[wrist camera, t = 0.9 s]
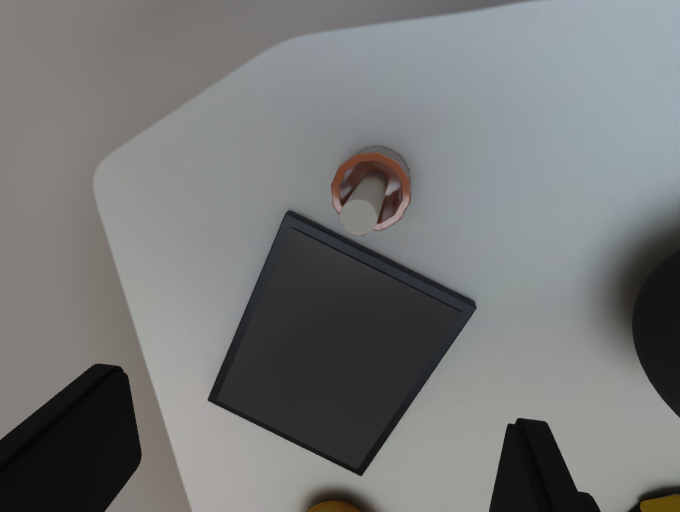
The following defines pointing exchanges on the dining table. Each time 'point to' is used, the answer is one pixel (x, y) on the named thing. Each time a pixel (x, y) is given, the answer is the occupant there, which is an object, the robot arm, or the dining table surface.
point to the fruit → (334, 507)
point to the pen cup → (386, 163)
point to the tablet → (335, 344)
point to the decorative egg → (660, 329)
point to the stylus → (364, 204)
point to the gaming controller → (661, 504)
